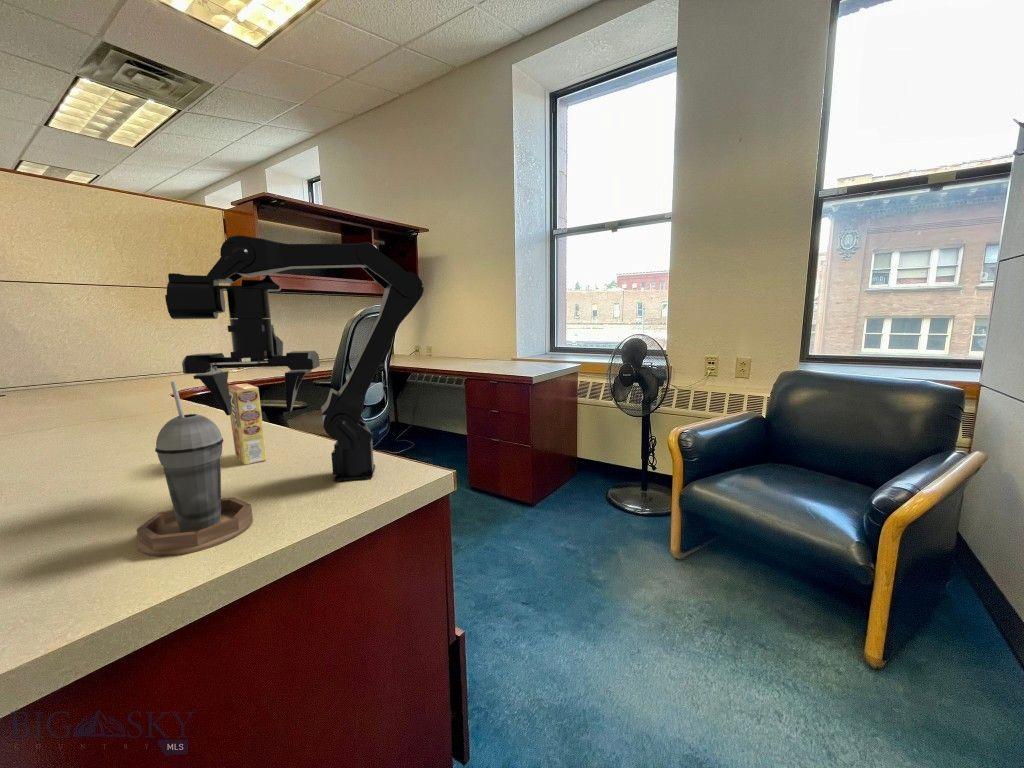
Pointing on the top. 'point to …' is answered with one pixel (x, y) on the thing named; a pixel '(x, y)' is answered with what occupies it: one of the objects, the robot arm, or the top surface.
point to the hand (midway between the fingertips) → (260, 413)
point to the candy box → (247, 423)
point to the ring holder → (167, 540)
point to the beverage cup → (192, 468)
